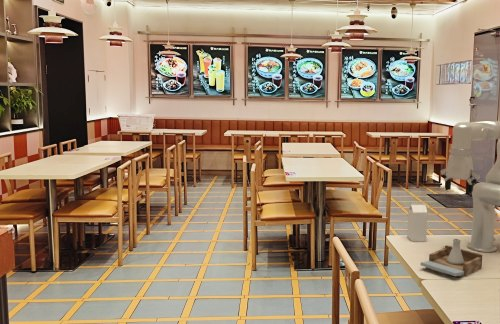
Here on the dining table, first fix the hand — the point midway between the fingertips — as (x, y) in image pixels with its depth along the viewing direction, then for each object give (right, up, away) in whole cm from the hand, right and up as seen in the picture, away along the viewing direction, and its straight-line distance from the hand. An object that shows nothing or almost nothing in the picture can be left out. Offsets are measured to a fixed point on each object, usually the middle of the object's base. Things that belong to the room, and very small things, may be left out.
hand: (458, 191), depth 206 cm
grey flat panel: (-10, -30, -12) cm, 34 cm away
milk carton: (-8, -26, +30) cm, 41 cm away
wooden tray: (-5, -32, -7) cm, 33 cm away
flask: (-5, -30, -7) cm, 31 cm away
